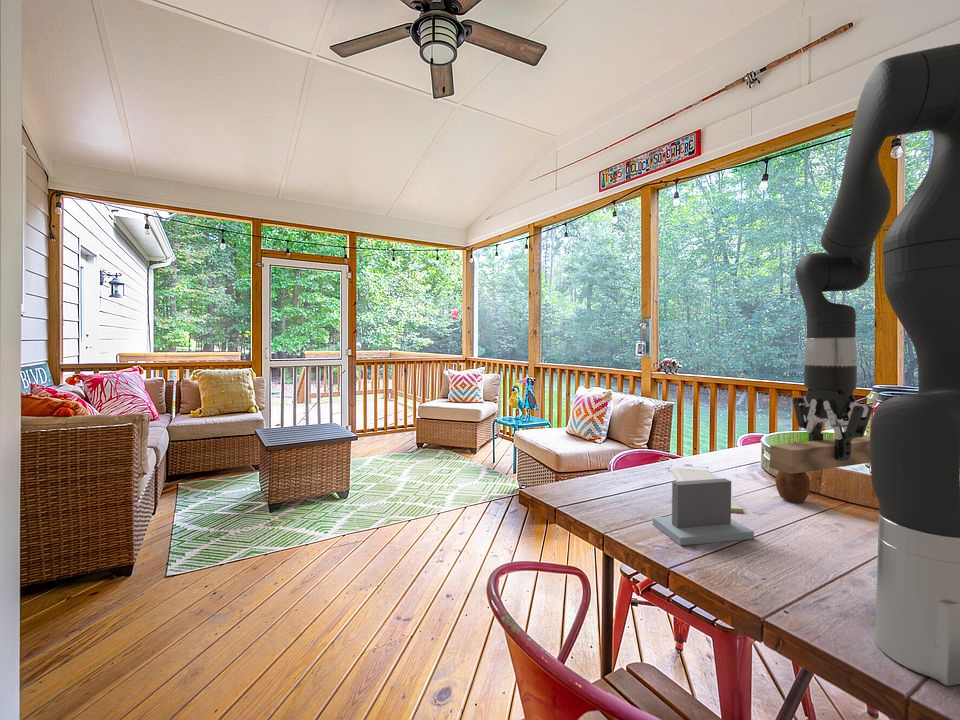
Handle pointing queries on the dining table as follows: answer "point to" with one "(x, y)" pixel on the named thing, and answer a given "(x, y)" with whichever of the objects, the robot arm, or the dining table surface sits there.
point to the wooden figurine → (793, 486)
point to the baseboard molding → (700, 475)
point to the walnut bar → (817, 455)
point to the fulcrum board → (703, 532)
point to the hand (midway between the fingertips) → (828, 455)
